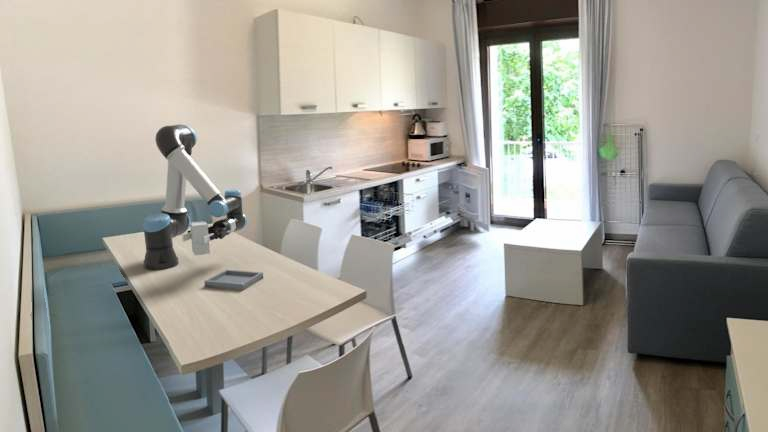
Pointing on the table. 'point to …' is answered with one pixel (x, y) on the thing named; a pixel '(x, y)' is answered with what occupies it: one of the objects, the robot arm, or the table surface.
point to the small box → (199, 238)
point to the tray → (234, 279)
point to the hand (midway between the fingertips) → (193, 239)
